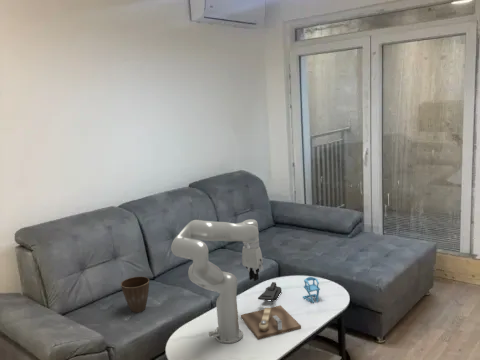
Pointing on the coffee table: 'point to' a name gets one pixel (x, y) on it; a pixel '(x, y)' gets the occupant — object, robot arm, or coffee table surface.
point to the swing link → (265, 317)
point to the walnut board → (270, 322)
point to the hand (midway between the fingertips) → (254, 279)
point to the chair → (311, 289)
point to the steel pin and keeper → (278, 322)
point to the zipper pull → (271, 292)
